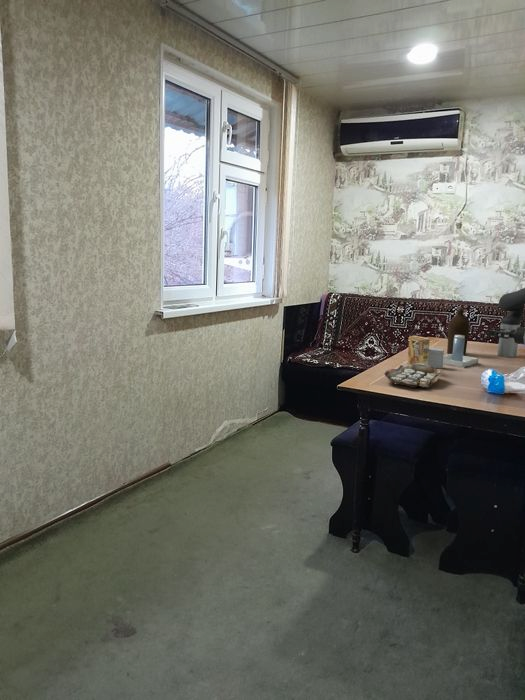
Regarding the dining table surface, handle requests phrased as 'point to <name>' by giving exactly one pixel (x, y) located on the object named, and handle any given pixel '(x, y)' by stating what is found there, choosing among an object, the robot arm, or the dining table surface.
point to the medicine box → (436, 357)
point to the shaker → (458, 348)
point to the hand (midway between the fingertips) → (491, 331)
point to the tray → (466, 361)
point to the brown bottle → (458, 329)
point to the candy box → (418, 350)
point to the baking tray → (414, 375)
